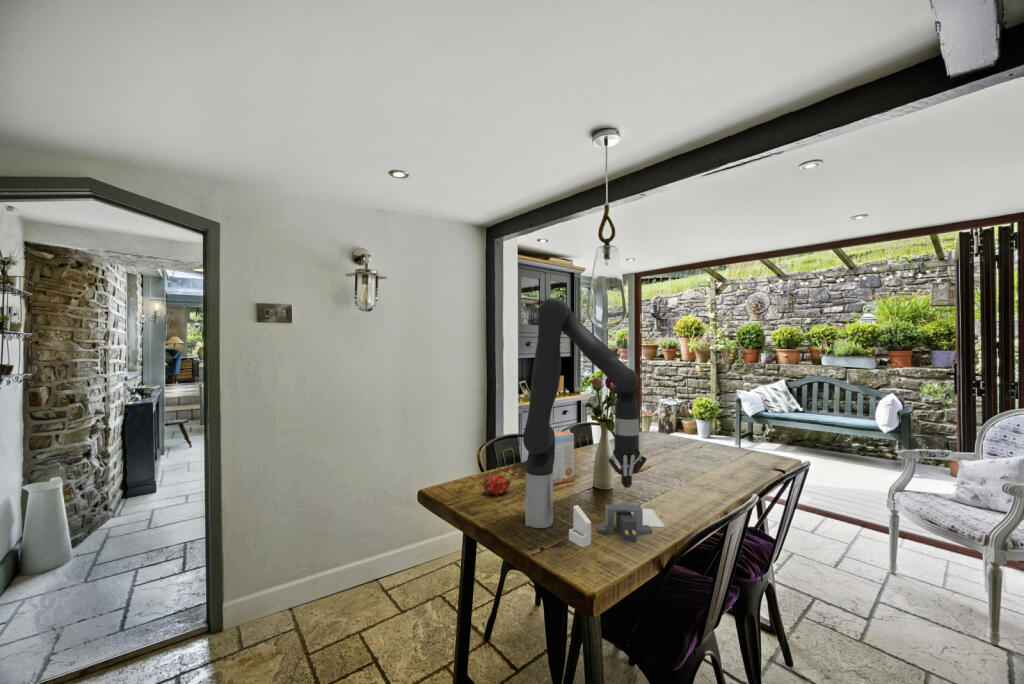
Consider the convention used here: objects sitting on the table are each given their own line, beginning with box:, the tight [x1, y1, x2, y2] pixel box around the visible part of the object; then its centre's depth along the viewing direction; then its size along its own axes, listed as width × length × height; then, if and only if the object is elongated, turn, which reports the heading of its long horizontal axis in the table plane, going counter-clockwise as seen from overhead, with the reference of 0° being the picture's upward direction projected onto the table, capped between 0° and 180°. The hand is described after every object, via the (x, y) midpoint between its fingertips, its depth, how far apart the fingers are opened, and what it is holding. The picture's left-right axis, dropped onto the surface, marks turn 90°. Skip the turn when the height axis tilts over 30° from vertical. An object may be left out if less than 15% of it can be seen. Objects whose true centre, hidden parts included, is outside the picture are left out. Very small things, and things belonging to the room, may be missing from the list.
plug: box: [615, 512, 637, 542], centre depth 135 cm, size 4×13×6 cm, turn 178°
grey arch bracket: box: [595, 504, 653, 535], centre depth 137 cm, size 17×4×8 cm, turn 88°
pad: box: [631, 508, 666, 529], centre depth 146 cm, size 8×14×1 cm, turn 178°
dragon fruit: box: [482, 473, 511, 496], centre depth 169 cm, size 8×8×12 cm
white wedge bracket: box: [568, 504, 592, 548], centre depth 130 cm, size 4×10×9 cm
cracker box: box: [553, 430, 575, 486], centre depth 182 cm, size 14×6×21 cm, turn 115°
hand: (626, 486), depth 134 cm, fingers closed
